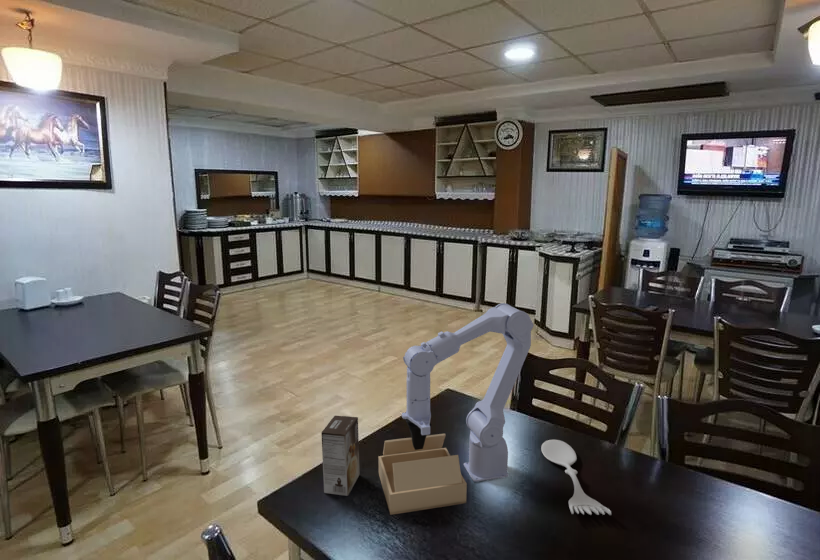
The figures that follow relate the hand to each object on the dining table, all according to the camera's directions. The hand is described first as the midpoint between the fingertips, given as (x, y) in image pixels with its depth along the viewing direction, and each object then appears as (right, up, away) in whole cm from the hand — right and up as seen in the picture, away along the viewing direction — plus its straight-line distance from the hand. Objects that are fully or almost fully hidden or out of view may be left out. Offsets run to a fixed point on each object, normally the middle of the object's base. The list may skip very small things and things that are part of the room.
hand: (418, 447), depth 115 cm
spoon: (+38, -10, +3) cm, 40 cm away
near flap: (+2, -3, -8) cm, 9 cm away
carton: (0, -10, 0) cm, 10 cm away
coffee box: (-19, -10, +1) cm, 21 cm away
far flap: (-1, -1, +4) cm, 4 cm away
